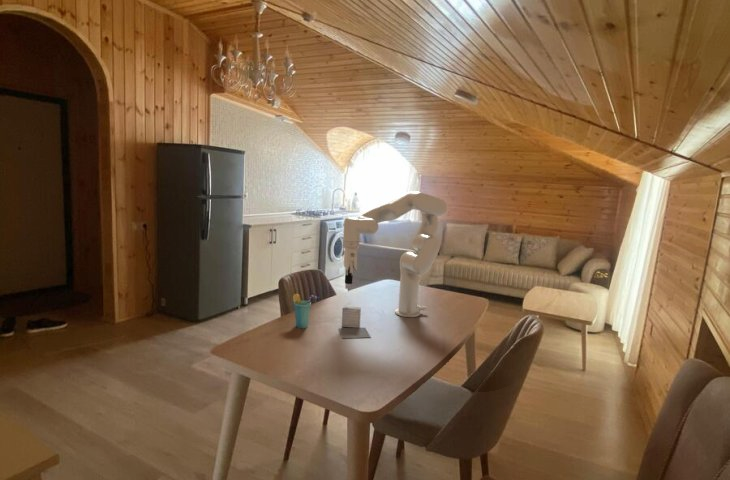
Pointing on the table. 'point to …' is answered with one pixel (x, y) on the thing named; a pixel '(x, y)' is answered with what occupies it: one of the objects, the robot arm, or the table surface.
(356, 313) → the medicine box
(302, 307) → the cup
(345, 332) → the mat
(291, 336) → the table surface
